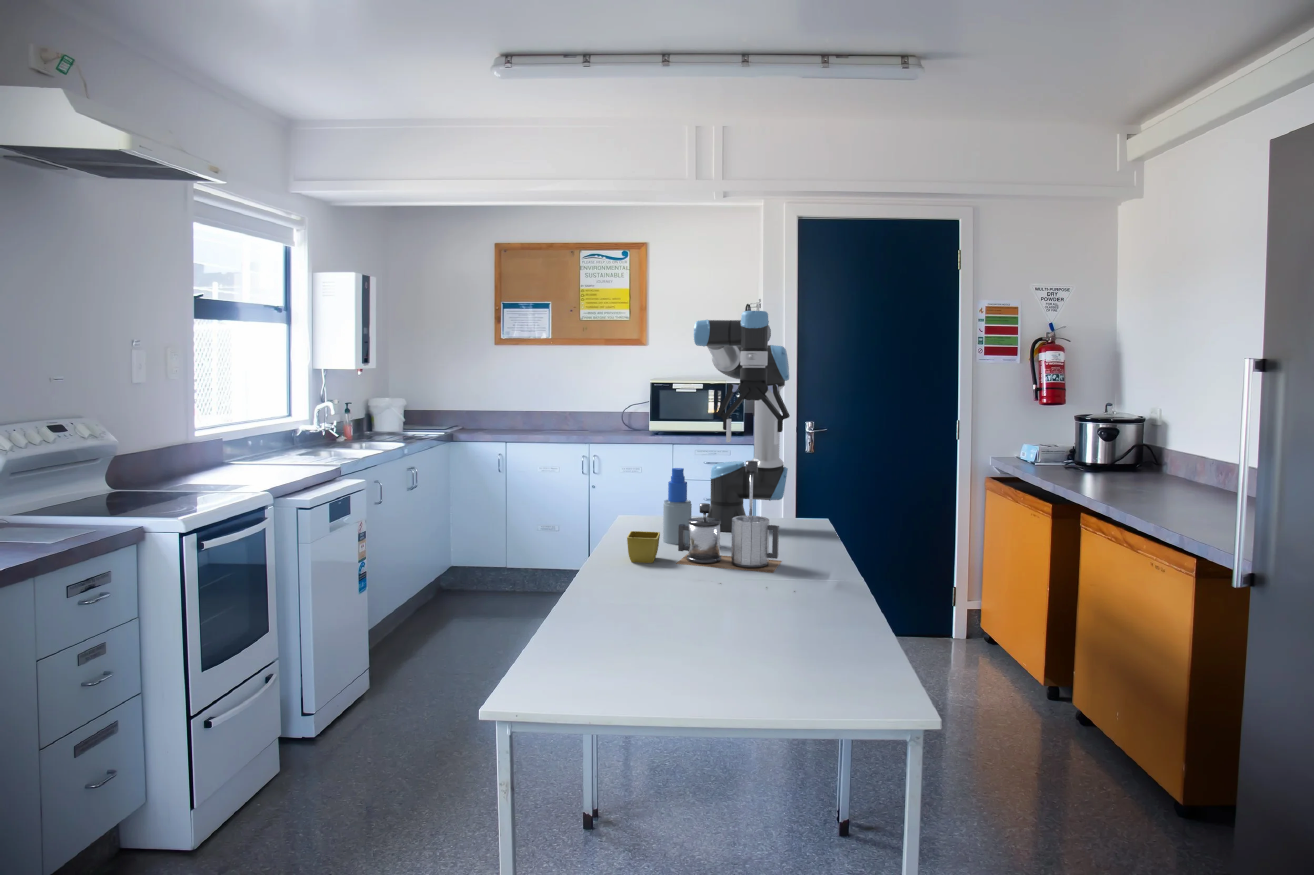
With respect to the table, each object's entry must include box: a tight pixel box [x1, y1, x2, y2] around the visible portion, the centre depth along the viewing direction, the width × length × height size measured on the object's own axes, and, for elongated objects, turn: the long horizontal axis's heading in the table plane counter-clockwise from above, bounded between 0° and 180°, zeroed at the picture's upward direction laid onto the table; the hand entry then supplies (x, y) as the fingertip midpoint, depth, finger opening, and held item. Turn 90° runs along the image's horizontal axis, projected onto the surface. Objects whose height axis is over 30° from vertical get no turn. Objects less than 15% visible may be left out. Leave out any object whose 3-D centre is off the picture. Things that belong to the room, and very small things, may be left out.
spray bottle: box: [662, 467, 692, 546], centre depth 257 cm, size 9×9×25 cm
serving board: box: [675, 552, 783, 574], centre depth 232 cm, size 14×28×2 cm, turn 71°
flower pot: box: [626, 530, 661, 564], centre depth 234 cm, size 9×9×9 cm
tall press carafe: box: [730, 515, 780, 569], centre depth 229 cm, size 10×13×13 cm
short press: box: [677, 502, 721, 564], centre depth 234 cm, size 10×13×16 cm
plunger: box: [745, 460, 758, 522], centre depth 228 cm, size 7×7×19 cm
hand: (752, 443), depth 226 cm, fingers open, 13 cm apart
